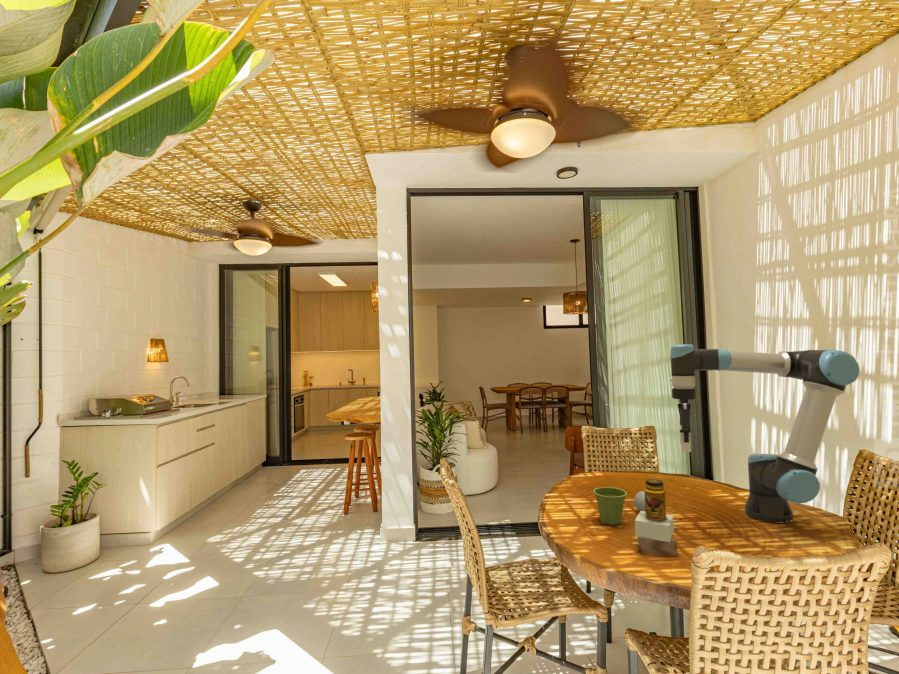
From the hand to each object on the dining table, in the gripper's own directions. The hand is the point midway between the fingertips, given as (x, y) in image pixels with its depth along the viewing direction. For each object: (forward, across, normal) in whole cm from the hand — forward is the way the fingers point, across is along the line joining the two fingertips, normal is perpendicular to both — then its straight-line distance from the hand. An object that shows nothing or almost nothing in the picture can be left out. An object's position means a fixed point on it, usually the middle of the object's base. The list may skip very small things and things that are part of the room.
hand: (685, 447), depth 167 cm
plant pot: (+29, +2, -26) cm, 39 cm away
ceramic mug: (+29, -14, -12) cm, 35 cm away
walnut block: (+29, +21, -10) cm, 37 cm away
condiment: (+19, +20, -10) cm, 30 cm away
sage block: (+24, +21, -11) cm, 34 cm away
